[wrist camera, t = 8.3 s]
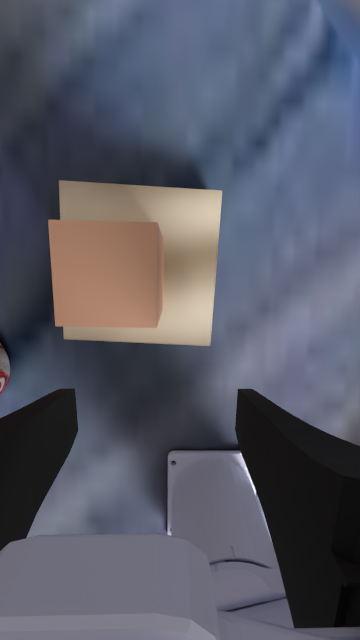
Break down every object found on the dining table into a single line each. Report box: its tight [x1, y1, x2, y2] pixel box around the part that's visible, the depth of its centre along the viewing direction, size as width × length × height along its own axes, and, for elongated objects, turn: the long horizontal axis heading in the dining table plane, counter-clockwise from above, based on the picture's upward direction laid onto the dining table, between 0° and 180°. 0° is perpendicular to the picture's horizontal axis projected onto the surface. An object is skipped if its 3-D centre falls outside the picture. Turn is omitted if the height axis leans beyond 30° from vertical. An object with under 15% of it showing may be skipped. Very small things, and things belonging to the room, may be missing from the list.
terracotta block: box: [48, 220, 164, 328], centre depth 14 cm, size 4×4×6 cm
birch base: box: [59, 180, 222, 346], centre depth 19 cm, size 10×10×4 cm
